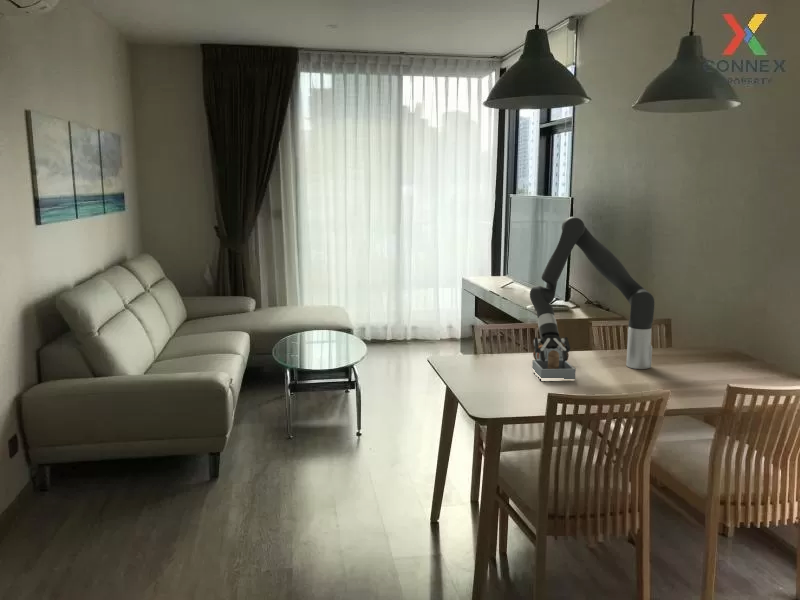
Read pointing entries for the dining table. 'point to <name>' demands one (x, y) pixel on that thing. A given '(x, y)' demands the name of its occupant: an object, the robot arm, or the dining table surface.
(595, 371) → the dining table surface
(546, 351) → the tin
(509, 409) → the dining table surface
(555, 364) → the pepper mill
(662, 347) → the dining table surface
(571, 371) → the bin
